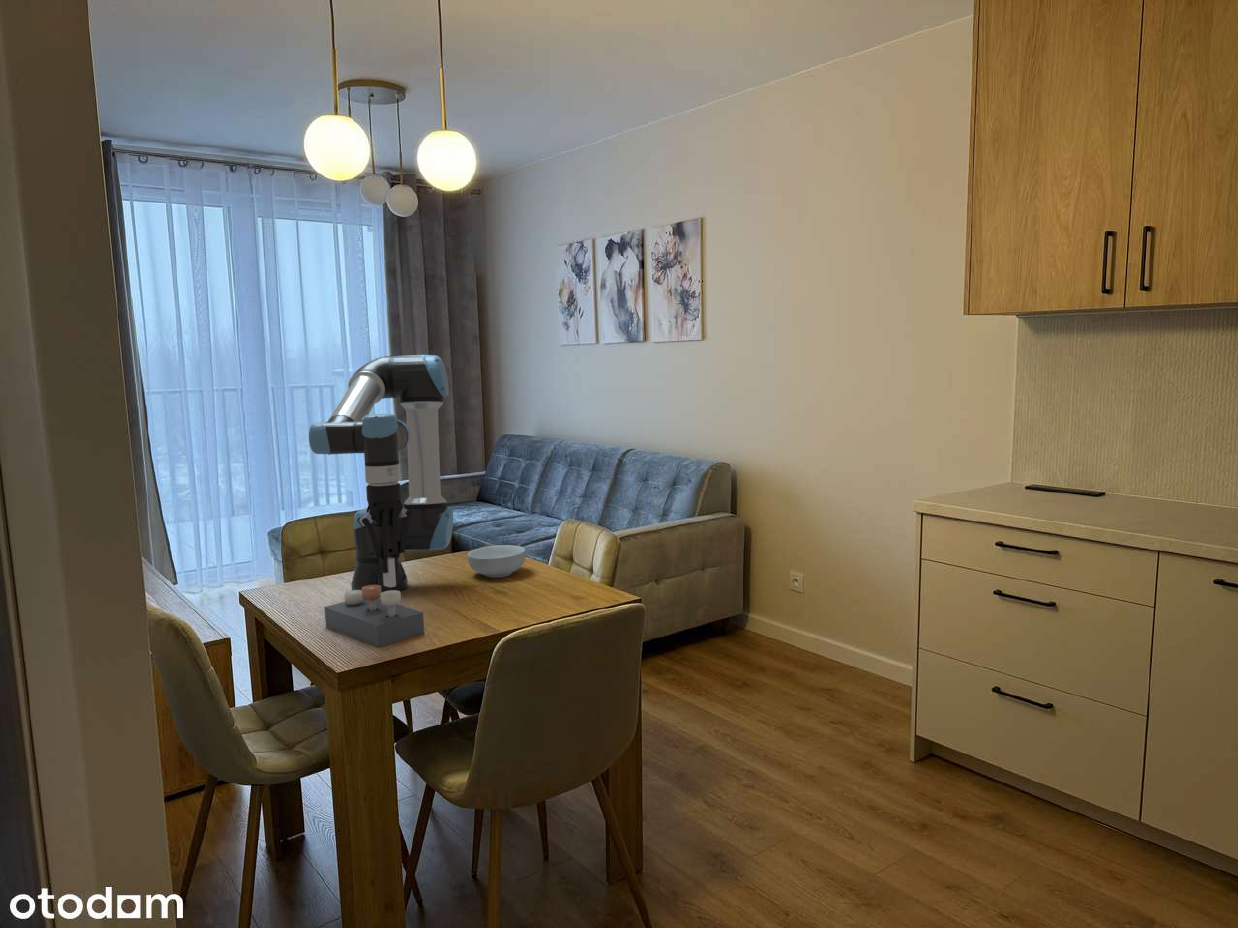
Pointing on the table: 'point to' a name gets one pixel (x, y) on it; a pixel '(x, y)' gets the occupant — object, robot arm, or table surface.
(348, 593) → the cream knob
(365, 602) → the knob panel
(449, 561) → the table surface
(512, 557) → the cereal bowl
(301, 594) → the table surface
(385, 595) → the cream knob
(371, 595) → the rust knob middle
